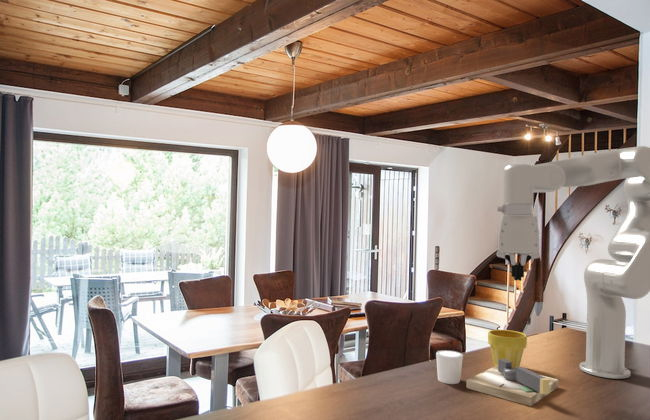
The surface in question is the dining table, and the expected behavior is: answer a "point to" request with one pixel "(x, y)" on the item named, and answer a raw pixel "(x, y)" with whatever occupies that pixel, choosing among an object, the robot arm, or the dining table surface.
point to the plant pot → (507, 345)
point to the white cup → (449, 366)
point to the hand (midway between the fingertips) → (517, 279)
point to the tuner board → (507, 387)
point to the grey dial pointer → (523, 376)
